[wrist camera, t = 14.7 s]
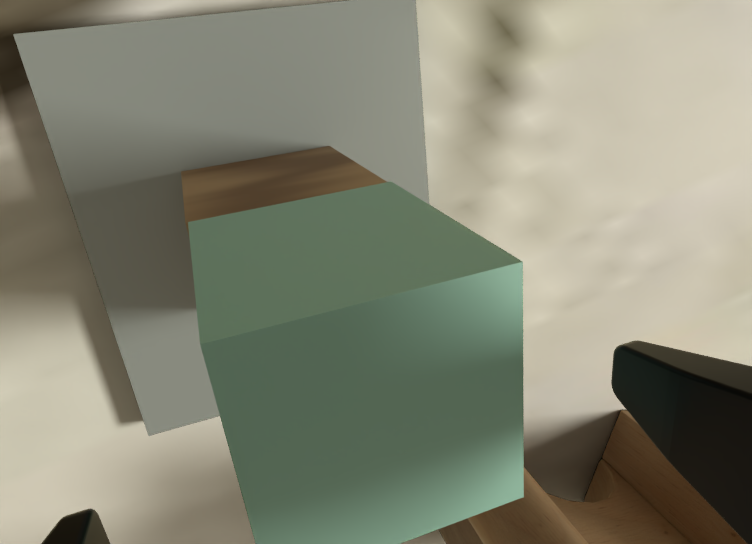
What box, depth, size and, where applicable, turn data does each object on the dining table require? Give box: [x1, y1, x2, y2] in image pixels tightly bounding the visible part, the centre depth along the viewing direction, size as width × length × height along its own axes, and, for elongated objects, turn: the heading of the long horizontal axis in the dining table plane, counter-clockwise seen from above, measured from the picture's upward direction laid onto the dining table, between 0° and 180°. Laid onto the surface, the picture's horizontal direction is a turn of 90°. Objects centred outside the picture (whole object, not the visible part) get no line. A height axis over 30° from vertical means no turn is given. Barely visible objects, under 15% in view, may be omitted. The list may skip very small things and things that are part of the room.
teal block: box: [188, 181, 524, 544], centre depth 12 cm, size 5×5×6 cm
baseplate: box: [13, 0, 429, 436], centre depth 20 cm, size 12×14×1 cm
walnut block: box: [181, 146, 387, 239], centre depth 17 cm, size 5×5×6 cm
